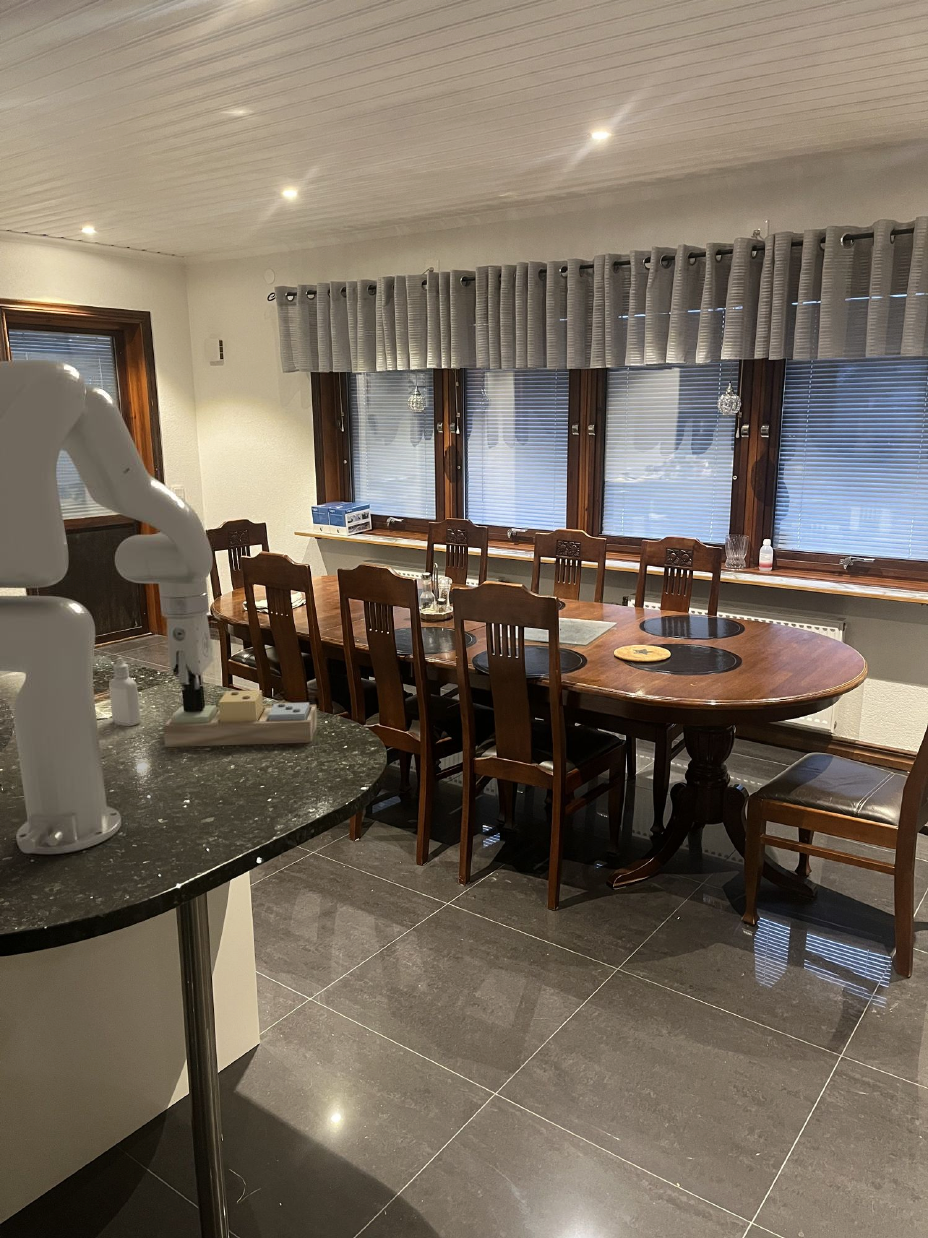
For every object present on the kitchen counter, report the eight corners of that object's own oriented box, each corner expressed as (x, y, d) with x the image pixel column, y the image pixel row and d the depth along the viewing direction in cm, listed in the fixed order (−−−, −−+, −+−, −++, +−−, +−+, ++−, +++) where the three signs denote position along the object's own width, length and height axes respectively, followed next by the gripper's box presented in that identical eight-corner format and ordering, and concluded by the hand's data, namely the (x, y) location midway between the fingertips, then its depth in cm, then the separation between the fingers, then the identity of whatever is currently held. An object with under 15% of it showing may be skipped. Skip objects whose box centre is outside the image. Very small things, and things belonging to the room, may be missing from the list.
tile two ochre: (256, 722, 149) (255, 699, 148) (220, 723, 148) (218, 701, 148) (263, 710, 154) (261, 689, 154) (228, 711, 154) (226, 690, 153)
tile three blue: (305, 734, 149) (304, 712, 149) (269, 735, 149) (268, 713, 148) (310, 722, 155) (309, 701, 154) (275, 723, 155) (274, 702, 154)
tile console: (310, 742, 148) (309, 721, 147) (165, 747, 147) (163, 726, 147) (317, 724, 157) (316, 704, 156) (179, 728, 156) (178, 708, 155)
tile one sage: (209, 737, 149) (207, 715, 148) (173, 738, 149) (171, 716, 148) (217, 725, 155) (216, 704, 154) (182, 726, 155) (180, 705, 154)
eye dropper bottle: (115, 729, 156) (108, 663, 154) (112, 720, 161) (104, 656, 159) (141, 725, 158) (135, 660, 156) (137, 716, 163) (130, 652, 160)
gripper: (196, 613, 140) (206, 724, 144) (218, 594, 154) (226, 695, 158) (147, 615, 139) (159, 726, 144) (174, 595, 154) (184, 697, 158)
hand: (194, 709), depth 151 cm, fingers closed
